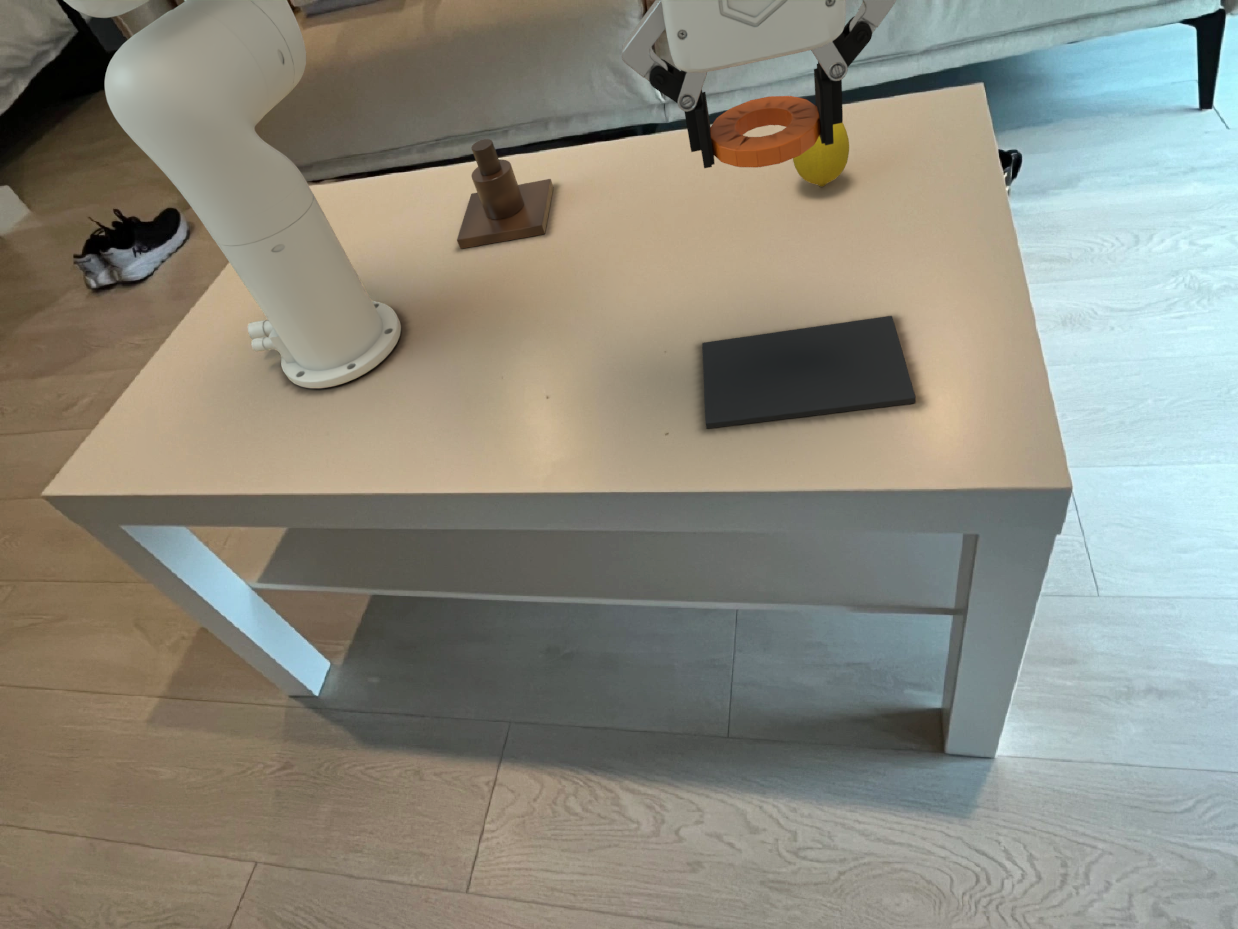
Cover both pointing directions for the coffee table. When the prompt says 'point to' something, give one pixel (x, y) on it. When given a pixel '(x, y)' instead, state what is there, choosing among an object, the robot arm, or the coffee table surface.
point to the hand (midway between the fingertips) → (766, 144)
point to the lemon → (824, 158)
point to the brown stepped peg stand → (502, 202)
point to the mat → (805, 373)
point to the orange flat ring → (770, 148)
